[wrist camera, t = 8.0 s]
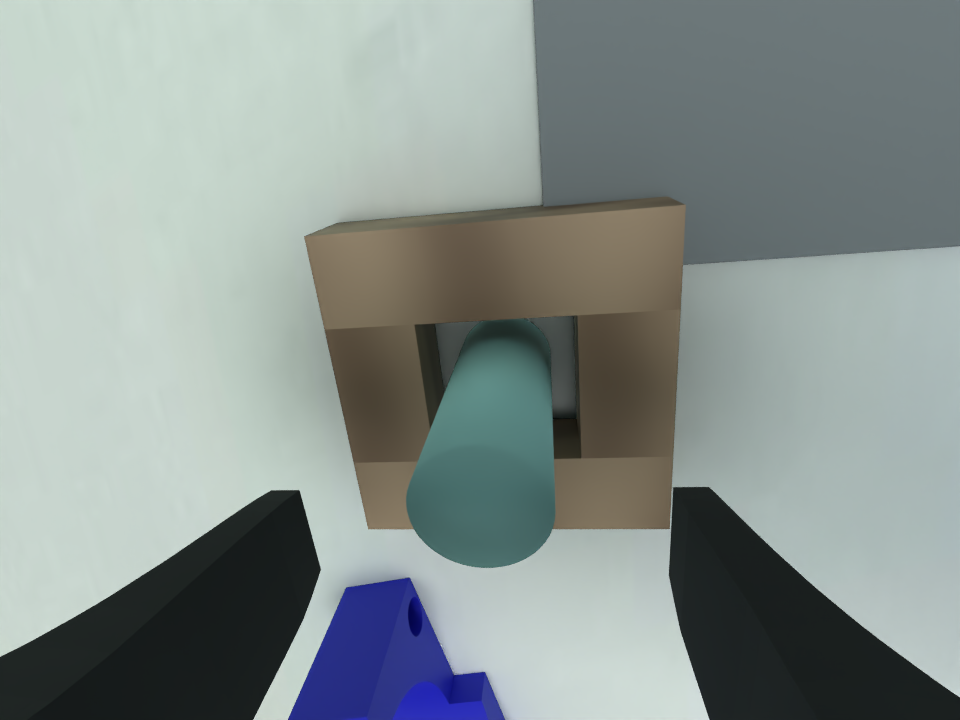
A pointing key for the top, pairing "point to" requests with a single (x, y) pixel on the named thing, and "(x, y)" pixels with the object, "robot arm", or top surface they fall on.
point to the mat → (758, 119)
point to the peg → (490, 452)
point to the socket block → (513, 295)
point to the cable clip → (388, 665)
